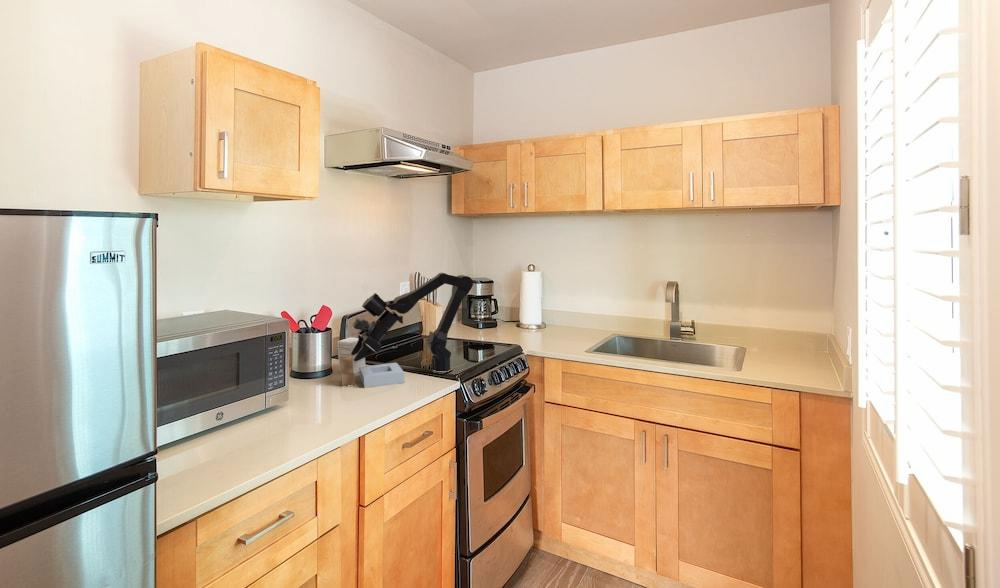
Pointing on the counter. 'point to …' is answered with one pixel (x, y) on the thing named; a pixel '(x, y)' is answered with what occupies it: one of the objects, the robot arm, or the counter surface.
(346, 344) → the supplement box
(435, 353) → the robot arm
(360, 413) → the counter surface
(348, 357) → the walnut post
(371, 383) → the well block
